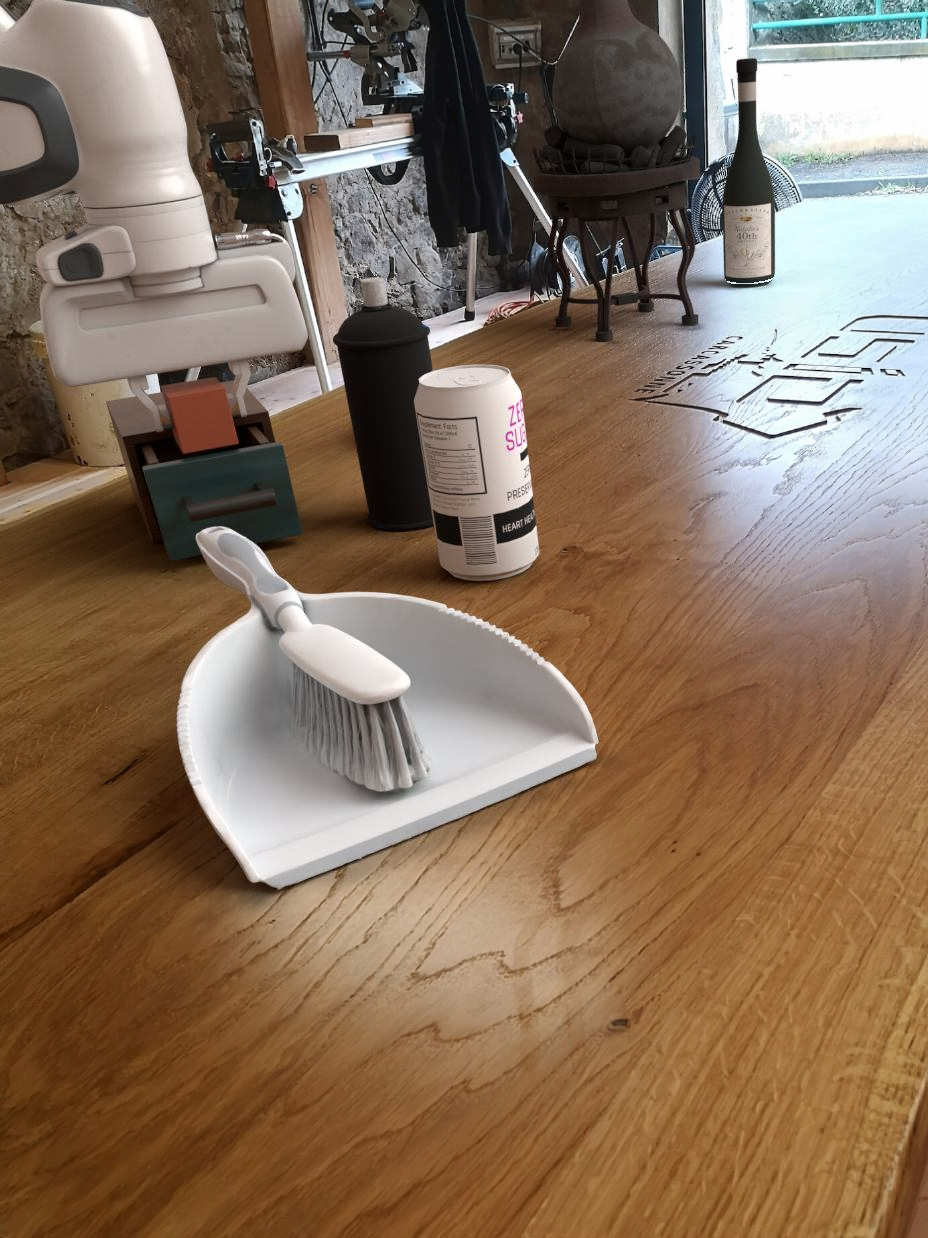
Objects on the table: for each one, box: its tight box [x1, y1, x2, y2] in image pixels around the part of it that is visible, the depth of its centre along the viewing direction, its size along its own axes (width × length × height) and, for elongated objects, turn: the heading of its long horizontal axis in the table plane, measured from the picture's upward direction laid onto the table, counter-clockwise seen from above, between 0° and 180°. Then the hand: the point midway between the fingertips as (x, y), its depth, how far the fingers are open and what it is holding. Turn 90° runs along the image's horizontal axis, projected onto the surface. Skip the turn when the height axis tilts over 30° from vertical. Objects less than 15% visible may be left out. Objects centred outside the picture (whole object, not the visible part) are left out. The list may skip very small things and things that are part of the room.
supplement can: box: [414, 363, 540, 582], centre depth 98 cm, size 8×8×15 cm
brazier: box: [531, 0, 701, 342], centre depth 165 cm, size 22×22×45 cm
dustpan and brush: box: [176, 526, 600, 891], centre depth 79 cm, size 23×33×10 cm
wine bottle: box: [721, 57, 776, 288], centre depth 188 cm, size 8×8×30 cm
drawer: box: [138, 423, 303, 562], centre depth 109 cm, size 18×11×8 cm, turn 25°
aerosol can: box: [332, 276, 434, 532], centre depth 108 cm, size 8×8×20 cm
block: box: [160, 376, 239, 454], centre depth 104 cm, size 5×5×5 cm
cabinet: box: [105, 379, 276, 545], centre depth 117 cm, size 15×13×10 cm
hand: (201, 423), depth 104 cm, fingers closed on block, 4 cm apart
